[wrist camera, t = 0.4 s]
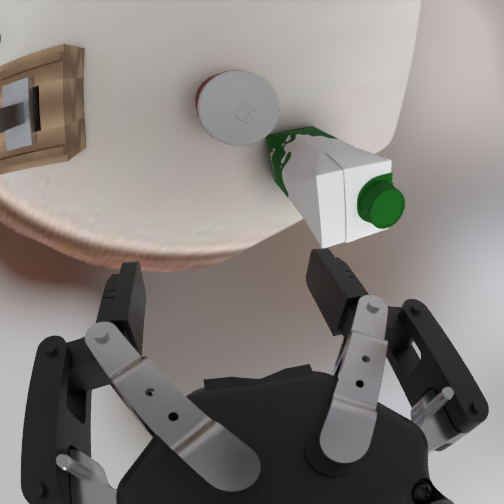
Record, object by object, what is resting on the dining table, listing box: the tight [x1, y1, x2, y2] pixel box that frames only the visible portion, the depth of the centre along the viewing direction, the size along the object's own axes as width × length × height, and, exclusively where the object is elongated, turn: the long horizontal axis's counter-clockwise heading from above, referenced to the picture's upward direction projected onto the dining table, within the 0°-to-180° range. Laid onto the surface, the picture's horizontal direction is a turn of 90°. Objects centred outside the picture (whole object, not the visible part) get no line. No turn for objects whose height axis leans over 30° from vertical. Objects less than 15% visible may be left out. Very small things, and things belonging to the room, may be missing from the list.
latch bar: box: [0, 77, 36, 151], centre depth 19 cm, size 8×4×6 cm, turn 176°
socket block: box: [0, 44, 86, 175], centre depth 24 cm, size 14×12×8 cm
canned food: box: [195, 70, 279, 146], centre depth 29 cm, size 8×8×11 cm
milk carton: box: [266, 127, 405, 248], centre depth 31 cm, size 9×9×20 cm
